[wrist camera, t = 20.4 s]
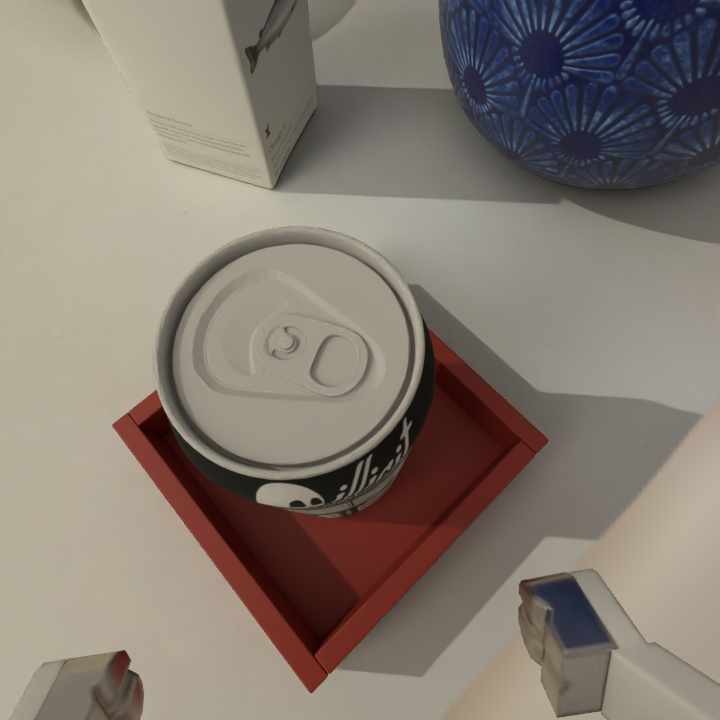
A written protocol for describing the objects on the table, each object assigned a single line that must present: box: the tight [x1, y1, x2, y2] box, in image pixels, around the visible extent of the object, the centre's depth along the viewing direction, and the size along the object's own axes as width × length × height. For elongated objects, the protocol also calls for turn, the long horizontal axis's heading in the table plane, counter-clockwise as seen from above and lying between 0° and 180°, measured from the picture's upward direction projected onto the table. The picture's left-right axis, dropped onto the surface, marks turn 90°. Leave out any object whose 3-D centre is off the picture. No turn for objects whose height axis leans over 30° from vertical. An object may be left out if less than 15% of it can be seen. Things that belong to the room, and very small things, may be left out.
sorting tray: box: [112, 329, 548, 693], centre depth 20 cm, size 13×13×3 cm
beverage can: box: [153, 227, 436, 518], centre depth 15 cm, size 7×7×12 cm
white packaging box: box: [82, 0, 318, 189], centre depth 22 cm, size 7×7×13 cm
